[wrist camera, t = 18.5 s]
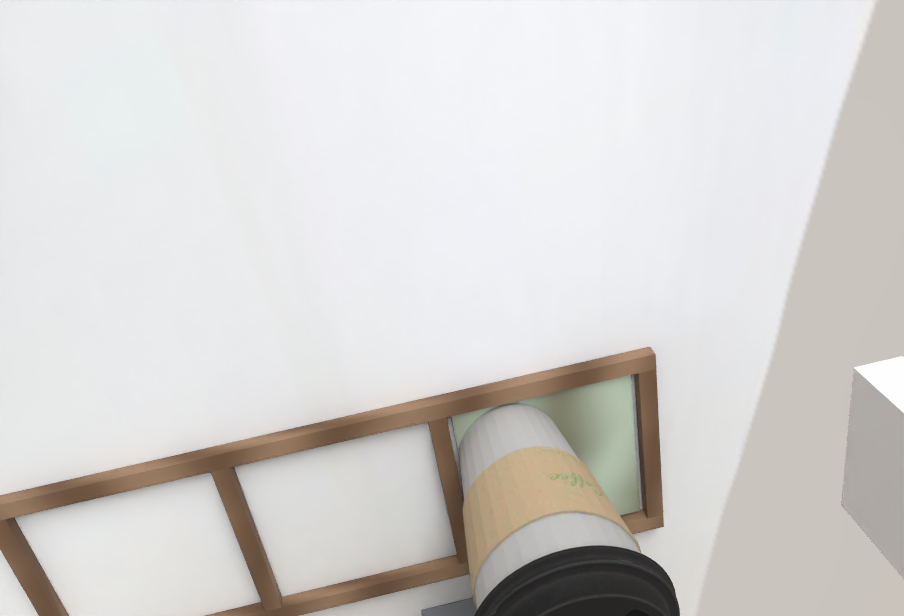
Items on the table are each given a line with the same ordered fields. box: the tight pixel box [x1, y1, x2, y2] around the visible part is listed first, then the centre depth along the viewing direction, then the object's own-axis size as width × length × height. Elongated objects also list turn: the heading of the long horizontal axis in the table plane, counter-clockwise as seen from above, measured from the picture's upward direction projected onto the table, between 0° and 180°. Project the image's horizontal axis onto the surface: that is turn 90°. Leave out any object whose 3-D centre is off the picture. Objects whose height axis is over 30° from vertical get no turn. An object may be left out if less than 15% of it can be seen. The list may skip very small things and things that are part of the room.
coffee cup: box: [459, 404, 680, 616], centre depth 42 cm, size 9×9×15 cm
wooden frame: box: [0, 347, 664, 616], centre depth 49 cm, size 37×13×1 cm, turn 99°
